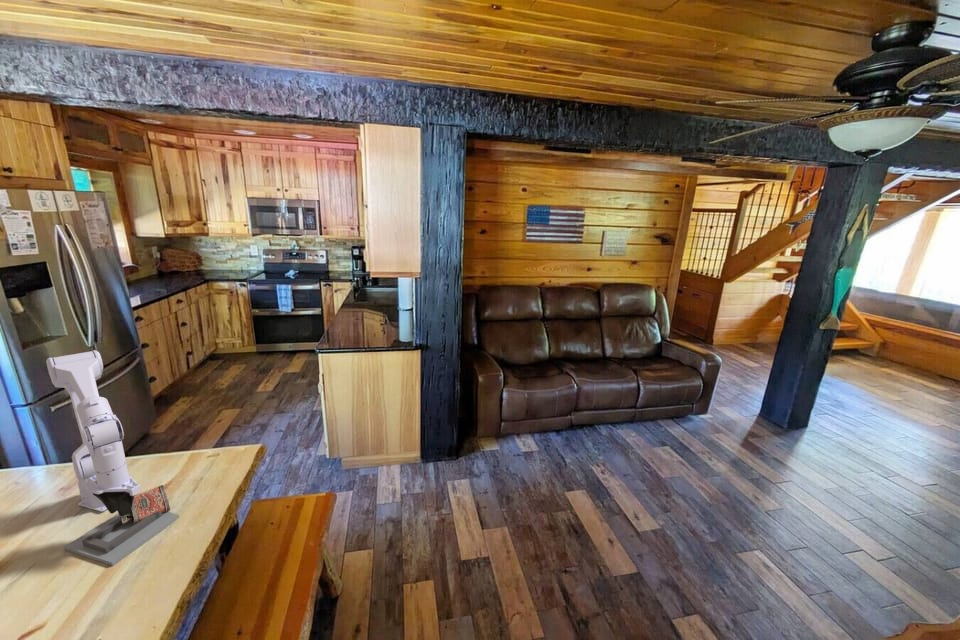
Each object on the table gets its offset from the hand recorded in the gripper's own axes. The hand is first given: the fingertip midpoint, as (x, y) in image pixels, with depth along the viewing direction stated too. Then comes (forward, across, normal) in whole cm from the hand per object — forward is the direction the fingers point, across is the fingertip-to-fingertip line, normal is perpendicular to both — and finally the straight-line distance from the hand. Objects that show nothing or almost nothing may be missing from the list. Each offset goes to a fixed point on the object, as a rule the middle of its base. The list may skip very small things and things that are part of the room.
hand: (120, 512), depth 98 cm
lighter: (+3, +1, +10) cm, 11 cm away
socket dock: (+6, 0, 0) cm, 6 cm away
